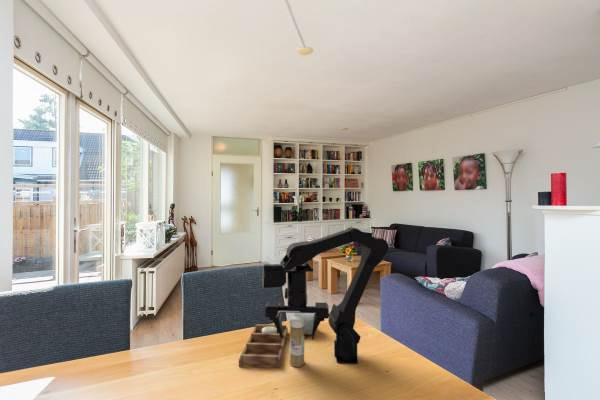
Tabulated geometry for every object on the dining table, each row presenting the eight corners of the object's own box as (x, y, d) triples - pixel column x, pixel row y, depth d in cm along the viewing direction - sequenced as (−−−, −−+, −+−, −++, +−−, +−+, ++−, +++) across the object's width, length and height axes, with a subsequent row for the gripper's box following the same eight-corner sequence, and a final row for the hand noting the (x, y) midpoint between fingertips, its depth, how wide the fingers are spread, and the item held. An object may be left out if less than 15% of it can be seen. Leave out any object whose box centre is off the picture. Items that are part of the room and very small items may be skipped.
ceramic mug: (315, 338, 105) (315, 316, 105) (292, 337, 106) (292, 315, 106) (317, 326, 116) (317, 306, 116) (296, 325, 117) (296, 305, 117)
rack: (287, 332, 110) (287, 324, 109) (279, 367, 87) (279, 357, 87) (255, 331, 110) (255, 323, 110) (238, 366, 88) (238, 356, 88)
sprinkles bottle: (287, 365, 88) (287, 320, 88) (293, 357, 92) (293, 314, 92) (301, 368, 86) (301, 322, 86) (307, 360, 91) (307, 316, 91)
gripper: (327, 279, 97) (327, 327, 97) (270, 278, 98) (270, 325, 98) (328, 289, 86) (328, 344, 86) (264, 288, 87) (264, 342, 87)
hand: (297, 338), depth 89 cm, fingers open, 9 cm apart
